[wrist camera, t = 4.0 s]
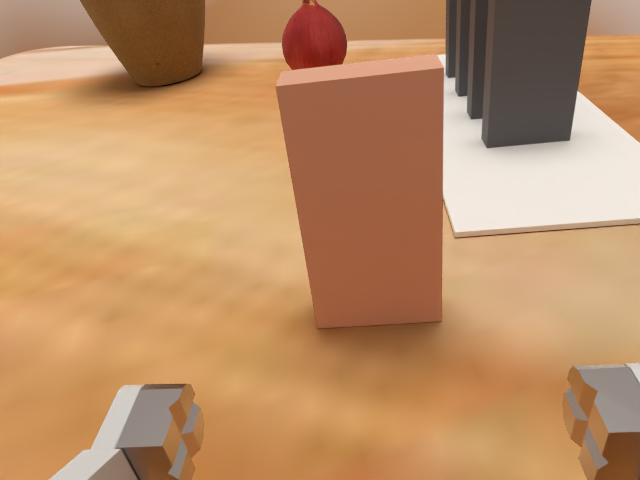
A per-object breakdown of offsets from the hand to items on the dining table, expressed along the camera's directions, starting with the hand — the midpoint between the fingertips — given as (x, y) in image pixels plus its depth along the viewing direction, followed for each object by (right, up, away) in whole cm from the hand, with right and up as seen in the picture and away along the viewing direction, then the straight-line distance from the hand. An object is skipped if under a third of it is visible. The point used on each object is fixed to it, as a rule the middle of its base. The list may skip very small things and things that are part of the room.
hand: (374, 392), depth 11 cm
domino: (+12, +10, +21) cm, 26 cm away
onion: (-1, +18, +37) cm, 41 cm away
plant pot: (-19, +22, +47) cm, 55 cm away
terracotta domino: (+1, 0, +10) cm, 10 cm away
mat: (+12, +13, +26) cm, 32 cm away
